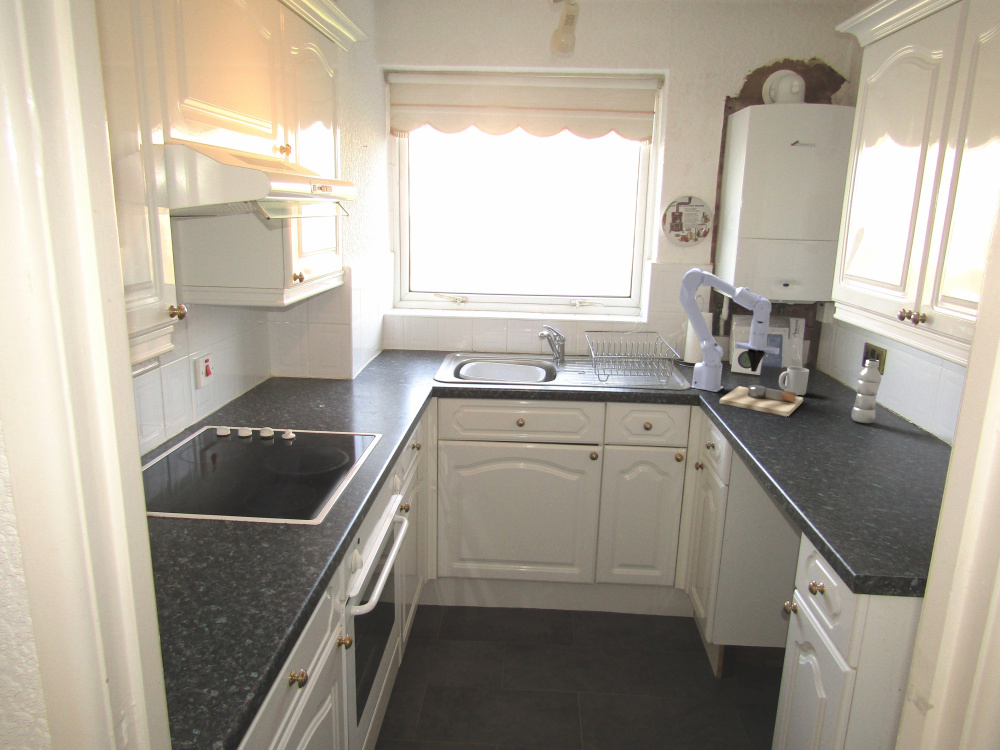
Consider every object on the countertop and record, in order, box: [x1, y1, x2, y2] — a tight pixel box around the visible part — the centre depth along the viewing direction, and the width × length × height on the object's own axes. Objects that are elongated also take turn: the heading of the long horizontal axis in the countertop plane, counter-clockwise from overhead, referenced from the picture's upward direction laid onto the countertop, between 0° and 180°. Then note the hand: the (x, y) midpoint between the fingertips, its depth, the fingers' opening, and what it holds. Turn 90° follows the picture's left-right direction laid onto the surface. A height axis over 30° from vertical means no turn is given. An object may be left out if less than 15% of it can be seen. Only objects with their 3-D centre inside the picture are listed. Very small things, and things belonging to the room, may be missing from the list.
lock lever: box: [748, 384, 797, 403], centre depth 232 cm, size 15×6×3 cm, turn 58°
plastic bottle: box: [851, 358, 882, 424], centre depth 213 cm, size 6×7×20 cm
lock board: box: [718, 385, 804, 417], centre depth 233 cm, size 22×22×2 cm
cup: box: [778, 366, 810, 396], centre depth 246 cm, size 7×10×9 cm
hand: (753, 371), depth 242 cm, fingers closed
